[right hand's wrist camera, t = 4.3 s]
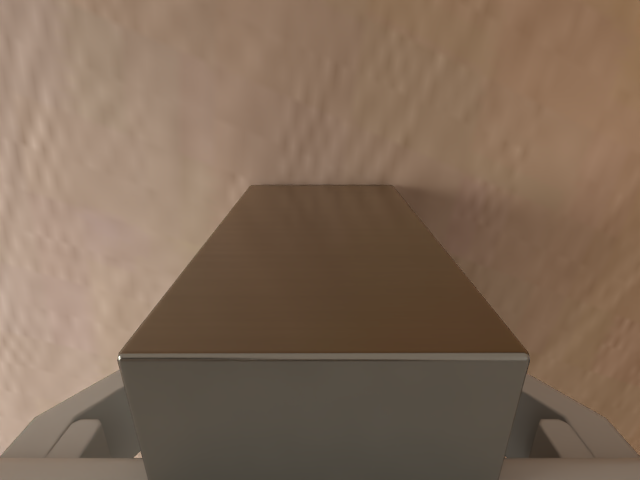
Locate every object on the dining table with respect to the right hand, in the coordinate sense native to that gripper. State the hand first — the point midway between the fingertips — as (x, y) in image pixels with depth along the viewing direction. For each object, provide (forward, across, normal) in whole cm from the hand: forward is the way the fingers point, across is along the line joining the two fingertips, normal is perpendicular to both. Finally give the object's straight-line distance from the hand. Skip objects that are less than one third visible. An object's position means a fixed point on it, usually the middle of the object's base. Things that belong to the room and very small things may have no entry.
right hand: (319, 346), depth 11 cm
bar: (+3, 0, +8) cm, 9 cm away
